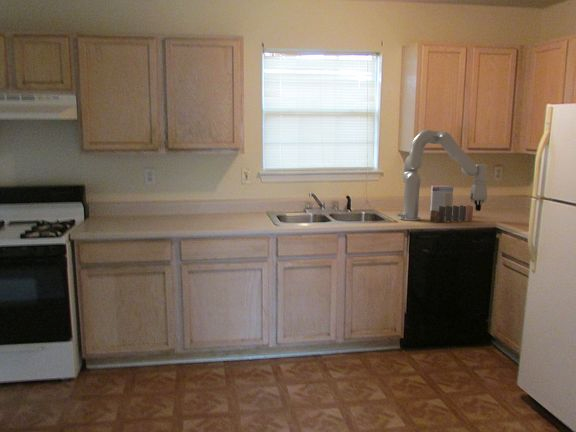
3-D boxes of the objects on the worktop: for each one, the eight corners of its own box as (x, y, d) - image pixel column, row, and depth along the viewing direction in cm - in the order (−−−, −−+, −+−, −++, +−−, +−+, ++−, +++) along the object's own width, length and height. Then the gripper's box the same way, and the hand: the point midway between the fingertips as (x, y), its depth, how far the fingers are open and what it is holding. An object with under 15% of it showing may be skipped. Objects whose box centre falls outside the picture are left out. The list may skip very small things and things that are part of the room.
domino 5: (469, 221, 335) (471, 206, 334) (465, 220, 340) (466, 205, 339) (472, 221, 336) (473, 206, 334) (467, 219, 341) (468, 205, 339)
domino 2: (449, 222, 332) (450, 206, 330) (445, 220, 337) (446, 205, 335) (451, 222, 332) (452, 206, 331) (447, 220, 337) (448, 205, 335)
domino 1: (442, 222, 331) (443, 207, 329) (438, 221, 336) (439, 206, 334) (444, 222, 331) (445, 207, 330) (440, 220, 336) (441, 205, 334)
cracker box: (450, 215, 360) (451, 185, 356) (451, 216, 354) (453, 186, 350) (429, 214, 361) (431, 185, 357) (431, 215, 355) (432, 185, 351)
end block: (435, 222, 329) (436, 212, 327) (430, 221, 335) (430, 210, 334) (439, 222, 329) (439, 212, 328) (433, 220, 336) (434, 210, 335)
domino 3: (456, 221, 333) (457, 206, 331) (452, 220, 338) (453, 205, 336) (458, 221, 334) (459, 206, 332) (454, 220, 338) (455, 205, 337)
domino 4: (463, 221, 334) (464, 206, 333) (458, 220, 339) (459, 205, 337) (465, 221, 335) (466, 206, 333) (461, 220, 339) (462, 205, 338)
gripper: (486, 182, 341) (484, 209, 344) (466, 182, 337) (464, 210, 340) (493, 183, 333) (491, 211, 336) (472, 183, 330) (471, 211, 333)
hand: (477, 210), depth 338 cm, fingers closed
